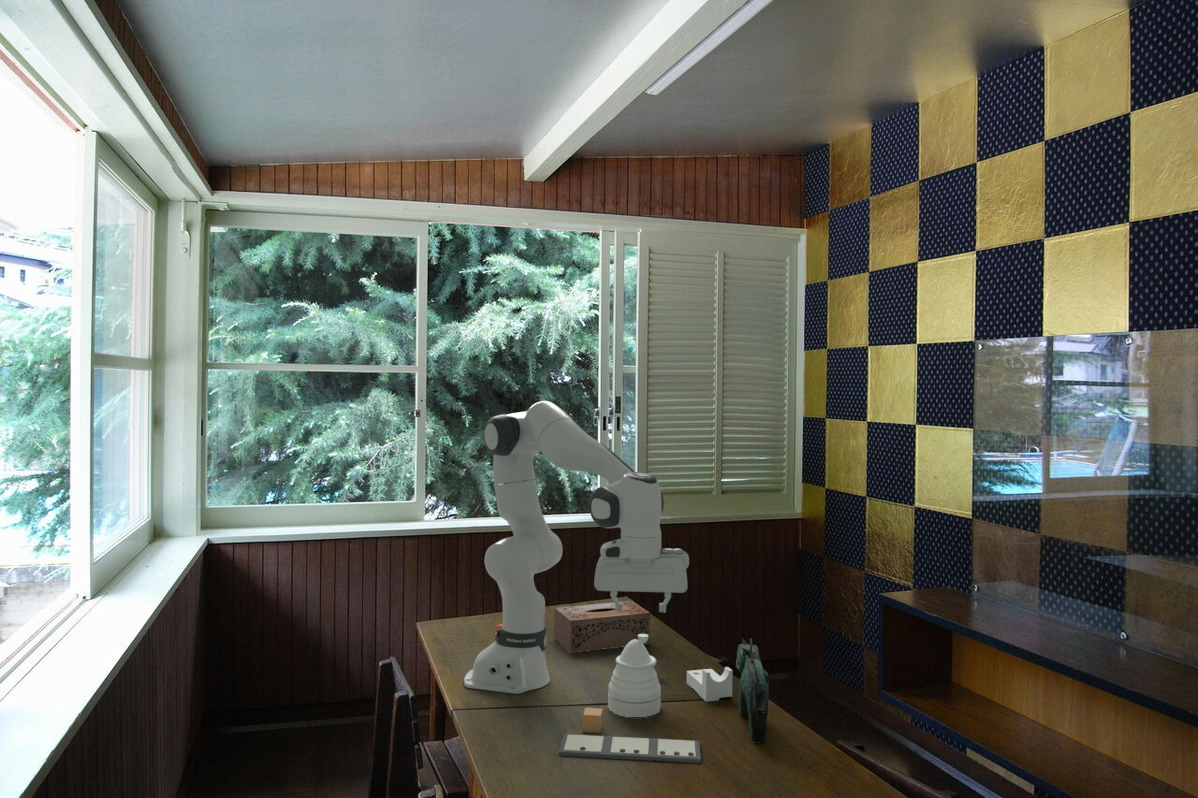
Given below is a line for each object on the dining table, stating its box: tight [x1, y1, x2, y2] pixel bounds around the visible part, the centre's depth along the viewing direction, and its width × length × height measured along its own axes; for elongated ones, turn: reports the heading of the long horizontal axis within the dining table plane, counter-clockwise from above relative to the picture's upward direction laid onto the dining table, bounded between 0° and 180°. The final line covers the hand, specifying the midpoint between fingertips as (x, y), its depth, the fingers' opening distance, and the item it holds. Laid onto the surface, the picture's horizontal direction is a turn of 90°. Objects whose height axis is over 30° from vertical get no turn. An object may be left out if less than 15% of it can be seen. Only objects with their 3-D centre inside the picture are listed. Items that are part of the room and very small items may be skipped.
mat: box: [558, 733, 702, 764], centre depth 178 cm, size 30×9×1 cm, turn 85°
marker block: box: [582, 707, 603, 734], centre depth 189 cm, size 4×4×4 cm
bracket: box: [686, 666, 733, 702], centre depth 213 cm, size 13×7×8 cm, turn 16°
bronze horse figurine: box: [735, 637, 770, 744], centre depth 191 cm, size 20×6×20 cm, turn 178°
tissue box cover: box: [553, 600, 651, 653], centre depth 252 cm, size 26×14×10 cm, turn 112°
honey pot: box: [607, 634, 662, 718], centre depth 201 cm, size 13×13×18 cm
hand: (640, 611), depth 178 cm, fingers open, 8 cm apart
